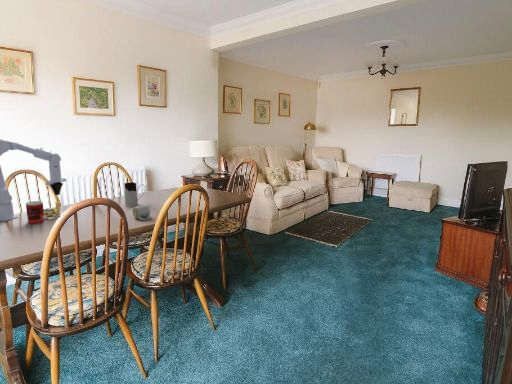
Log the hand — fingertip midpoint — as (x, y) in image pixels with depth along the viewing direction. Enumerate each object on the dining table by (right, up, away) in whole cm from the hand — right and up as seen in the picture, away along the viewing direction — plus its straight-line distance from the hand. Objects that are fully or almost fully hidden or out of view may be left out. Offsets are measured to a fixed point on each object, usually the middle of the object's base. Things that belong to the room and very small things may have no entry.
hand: (57, 194), depth 196 cm
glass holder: (+39, -7, +25) cm, 46 cm away
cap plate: (0, -12, -7) cm, 14 cm away
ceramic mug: (+54, -14, -5) cm, 56 cm away
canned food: (0, -15, -19) cm, 24 cm away
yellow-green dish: (0, -11, -6) cm, 12 cm away
